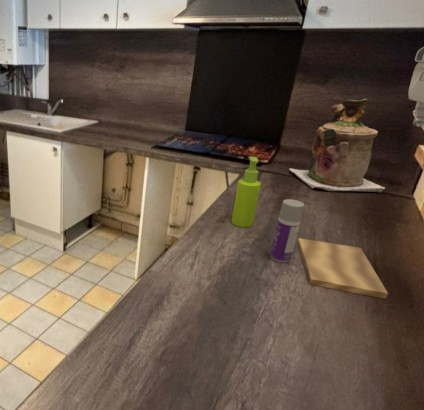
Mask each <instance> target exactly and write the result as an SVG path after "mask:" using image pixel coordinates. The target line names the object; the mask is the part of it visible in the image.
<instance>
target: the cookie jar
mask: <svg viewBox="0 0 424 410" xmlns="http://www.w3.org/2000/svg"><path fill="white" fill-rule="evenodd" d="M368 101H369V99H368V98H363V99H361V100H355V99H346V100H343V101H342V102H341V103H340V104H334V105H332V106H331V108H330V115H332V116H333V118H332V119H330V122H328V123H325V124H323V126H320V127H317V128H318V129H316V136H315V137H314V139H313V142H312V145H311V149H312V150H311V158H310V161H309V163H308V165H307V169H296V168H289V169H288V170H289V172H290V173H293V174H295V176H296V177H297V178H298V179H300V180H301V181H302V182H303V183H305V184H306V185H308V186H309V187H310V188H311V189H314V188H316V189H321V190H325V191H327V192H369V193H370V192H371V193H373V192H374V193H381V194H382V192H383V191H384V190H385V189H386V187H385V186H381V185H380V184H376V183H375V182H373V181H370V180H369V179H368V180H367V179H366V178H364V176H365V175H366V173H367V172H368V169H369V165H370V161H371V158H372V148H373V144H374V139H375V138H376V137H377V136H378V133H379V131H378V130H376V129H374V128H369V126H366V125H364V123H363V122H361V121H360V119H361V117H362V116H363V114H365V111H364V110H365V109H366V105H367V104H368Z"/></svg>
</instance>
